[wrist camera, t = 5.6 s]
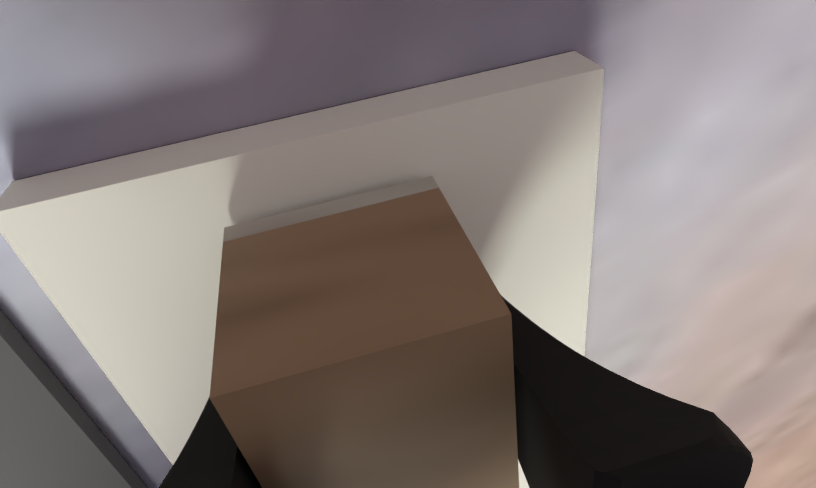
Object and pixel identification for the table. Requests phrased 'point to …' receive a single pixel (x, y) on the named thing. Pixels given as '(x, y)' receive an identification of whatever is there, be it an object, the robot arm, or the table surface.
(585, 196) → the board
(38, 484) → the mat
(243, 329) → the block
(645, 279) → the table surface
